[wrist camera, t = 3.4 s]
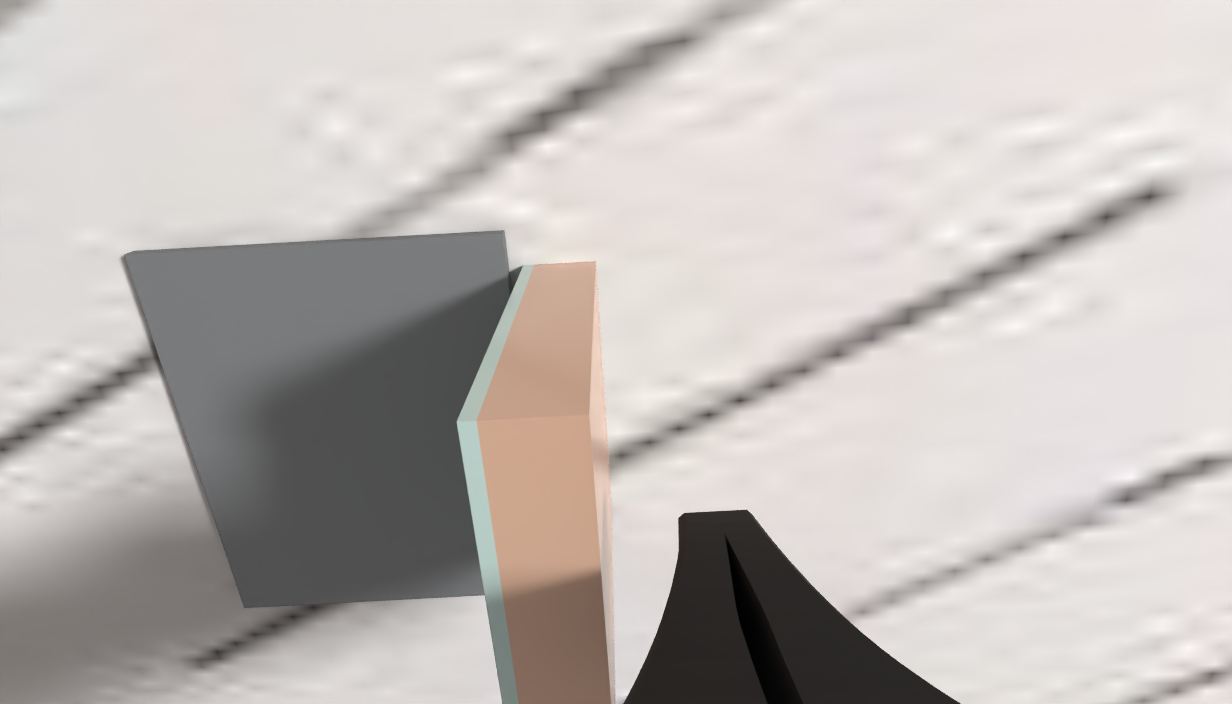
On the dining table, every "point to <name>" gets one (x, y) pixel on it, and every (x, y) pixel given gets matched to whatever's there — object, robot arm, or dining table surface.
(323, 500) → the mat
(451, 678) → the dining table surface
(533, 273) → the peach green flat block
